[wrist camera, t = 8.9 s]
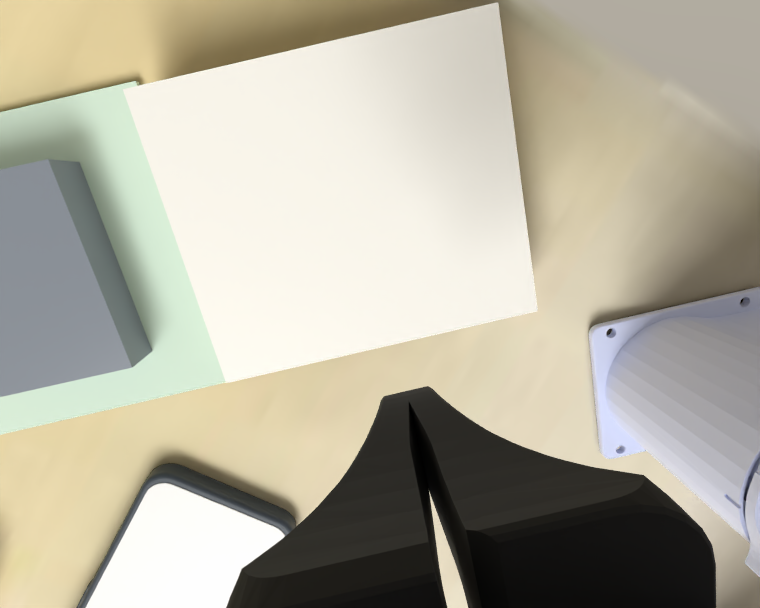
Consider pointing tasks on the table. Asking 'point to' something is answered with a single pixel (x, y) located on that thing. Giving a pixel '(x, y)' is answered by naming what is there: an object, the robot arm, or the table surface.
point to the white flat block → (345, 191)
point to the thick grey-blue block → (59, 283)
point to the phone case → (184, 543)
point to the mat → (132, 249)
